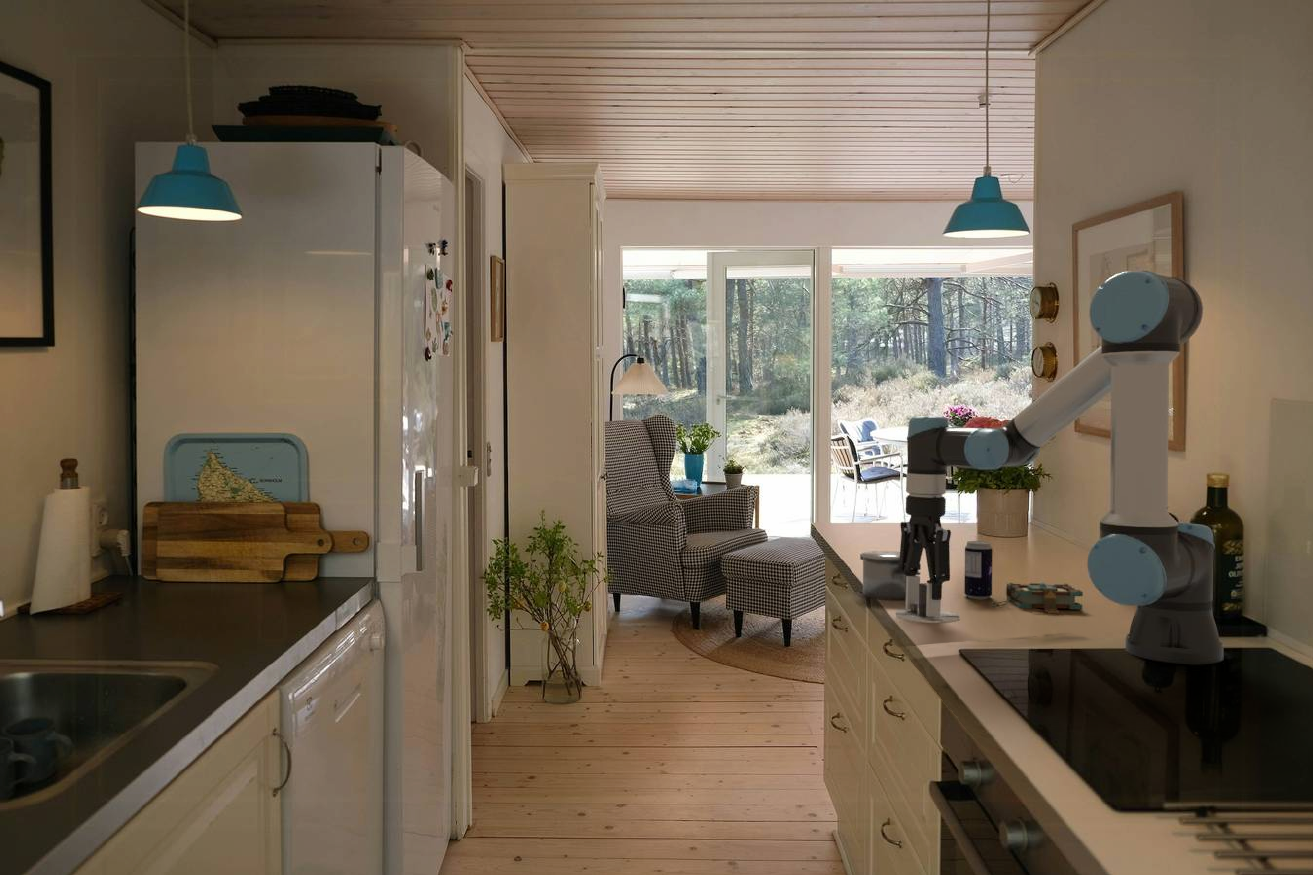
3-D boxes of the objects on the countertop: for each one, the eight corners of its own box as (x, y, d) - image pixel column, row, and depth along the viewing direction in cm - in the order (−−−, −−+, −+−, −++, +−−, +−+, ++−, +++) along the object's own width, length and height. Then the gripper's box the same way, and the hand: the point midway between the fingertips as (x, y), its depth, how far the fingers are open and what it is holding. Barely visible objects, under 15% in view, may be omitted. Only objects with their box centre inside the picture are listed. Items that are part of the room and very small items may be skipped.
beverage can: (993, 600, 216) (994, 544, 215) (965, 599, 217) (966, 543, 217) (990, 596, 221) (990, 541, 221) (963, 595, 222) (963, 540, 222)
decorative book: (981, 600, 219) (981, 577, 219) (1065, 601, 218) (1066, 578, 218) (998, 612, 206) (998, 587, 206) (1087, 613, 204) (1088, 588, 204)
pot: (891, 588, 231) (891, 548, 231) (936, 601, 215) (936, 558, 215) (844, 591, 227) (844, 550, 227) (887, 604, 211) (887, 561, 211)
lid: (972, 623, 196) (973, 587, 196) (922, 628, 191) (922, 591, 191) (931, 612, 207) (931, 577, 206) (883, 617, 202) (883, 581, 202)
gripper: (972, 499, 191) (969, 621, 192) (914, 490, 210) (911, 601, 210) (938, 500, 189) (935, 623, 190) (882, 490, 207) (879, 603, 208)
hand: (922, 611), depth 200 cm, fingers closed on lid, 6 cm apart
